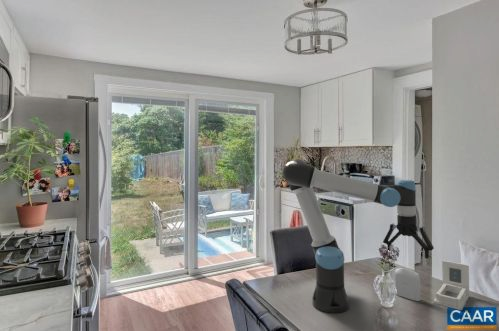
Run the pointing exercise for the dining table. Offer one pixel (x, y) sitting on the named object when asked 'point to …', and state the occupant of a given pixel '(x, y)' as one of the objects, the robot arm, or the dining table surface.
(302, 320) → the dining table surface
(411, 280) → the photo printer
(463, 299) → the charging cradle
